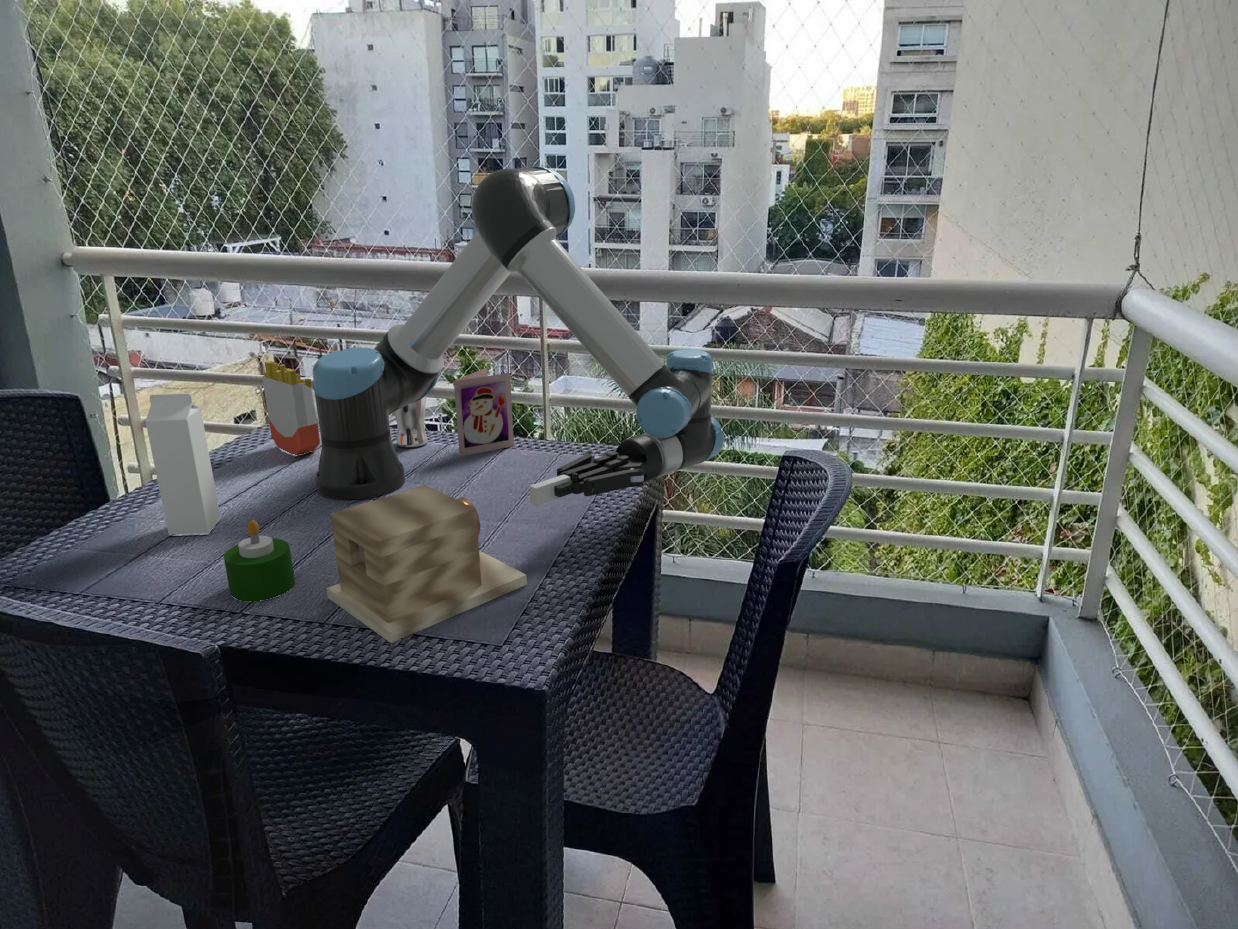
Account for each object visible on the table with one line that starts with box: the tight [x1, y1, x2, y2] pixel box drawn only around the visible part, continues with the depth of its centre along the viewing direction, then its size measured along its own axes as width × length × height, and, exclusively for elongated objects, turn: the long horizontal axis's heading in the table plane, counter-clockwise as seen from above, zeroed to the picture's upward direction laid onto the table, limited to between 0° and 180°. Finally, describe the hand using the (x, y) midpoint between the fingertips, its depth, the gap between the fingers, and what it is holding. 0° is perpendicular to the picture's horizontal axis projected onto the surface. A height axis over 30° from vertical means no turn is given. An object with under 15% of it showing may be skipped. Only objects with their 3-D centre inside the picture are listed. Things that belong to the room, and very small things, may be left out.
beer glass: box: [393, 395, 429, 448], centre depth 175 cm, size 7×7×15 cm
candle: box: [223, 519, 296, 602], centre depth 118 cm, size 8×8×10 cm
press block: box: [326, 484, 528, 644], centre depth 116 cm, size 21×16×12 cm
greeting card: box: [453, 367, 515, 457], centre depth 172 cm, size 11×7×15 cm, turn 120°
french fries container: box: [261, 360, 321, 455], centre depth 170 cm, size 5×11×18 cm, turn 50°
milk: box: [144, 393, 222, 535], centre depth 135 cm, size 6×6×22 cm
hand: (533, 495), depth 127 cm, fingers closed
